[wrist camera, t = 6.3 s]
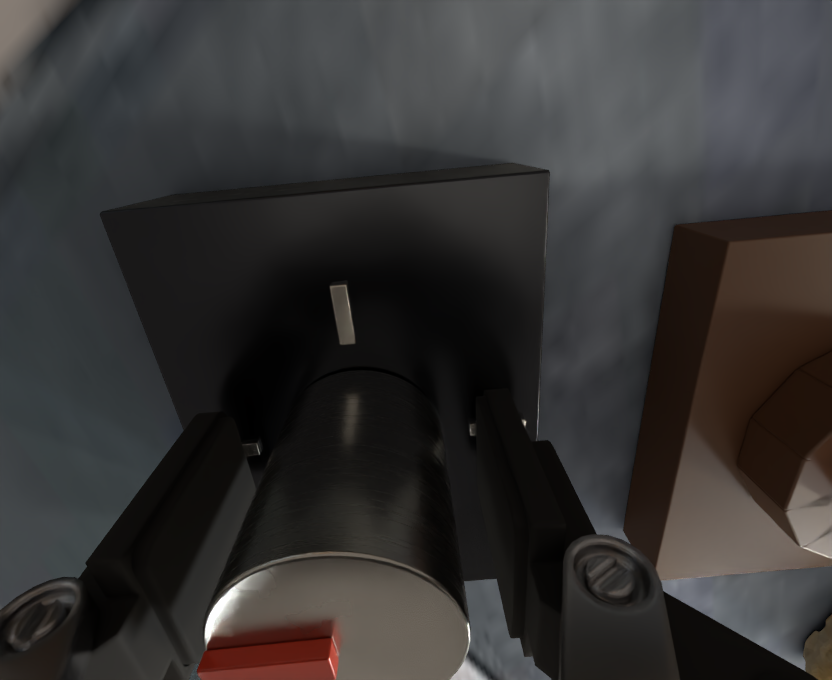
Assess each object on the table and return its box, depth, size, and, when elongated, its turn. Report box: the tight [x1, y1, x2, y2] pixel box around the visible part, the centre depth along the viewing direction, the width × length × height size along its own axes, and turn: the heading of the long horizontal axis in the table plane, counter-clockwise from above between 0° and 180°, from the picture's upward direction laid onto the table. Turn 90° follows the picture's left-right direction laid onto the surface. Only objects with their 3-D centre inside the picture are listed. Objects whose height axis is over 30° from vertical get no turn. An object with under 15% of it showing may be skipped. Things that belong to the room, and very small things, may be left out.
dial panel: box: [100, 163, 550, 581], centre depth 12 cm, size 12×9×3 cm
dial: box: [197, 370, 471, 680], centre depth 9 cm, size 4×4×5 cm
